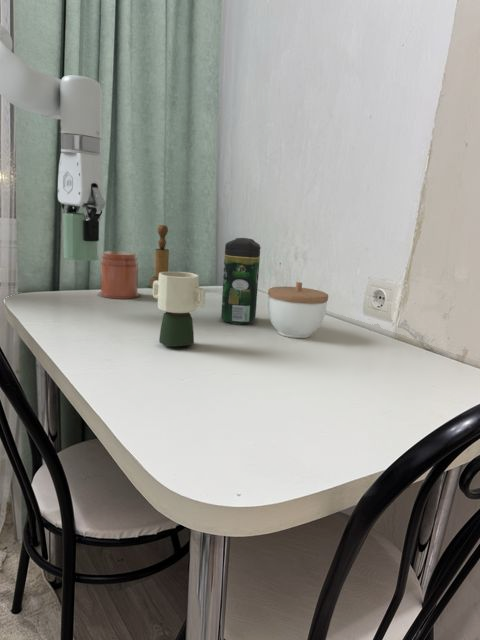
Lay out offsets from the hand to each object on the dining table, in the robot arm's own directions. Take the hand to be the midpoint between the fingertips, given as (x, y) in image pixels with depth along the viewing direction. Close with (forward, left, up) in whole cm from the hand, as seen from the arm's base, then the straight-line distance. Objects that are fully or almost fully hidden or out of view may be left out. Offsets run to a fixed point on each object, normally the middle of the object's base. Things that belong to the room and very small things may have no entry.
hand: (81, 238), depth 105 cm
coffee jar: (+20, +27, -16) cm, 38 cm away
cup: (0, 0, -4) cm, 4 cm away
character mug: (+29, +2, -16) cm, 34 cm away
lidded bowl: (+35, +29, -16) cm, 49 cm away
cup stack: (-16, +19, -16) cm, 30 cm away
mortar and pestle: (-22, +37, -16) cm, 46 cm away
